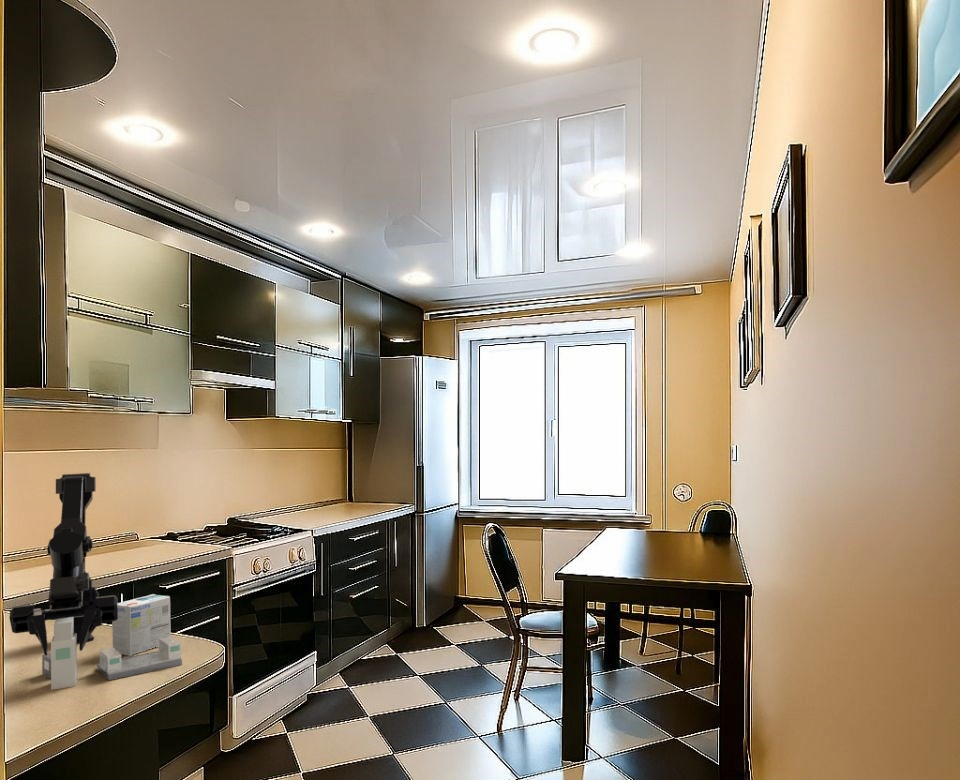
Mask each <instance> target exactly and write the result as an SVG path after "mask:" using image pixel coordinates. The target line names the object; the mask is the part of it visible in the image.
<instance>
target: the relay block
mask: <svg viewBox="0 0 960 780" xmlns="http://www.w3.org/2000/svg"><path fill="white" fill-rule="evenodd" d="M41 661H42V662H41V663H42V666H41V668H42V669H41V675H42V676H45V677H46V678H47V679H49V680H51V652H50V653H47V655H46V656H45V655H44V654H42V658H41Z"/></svg>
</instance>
